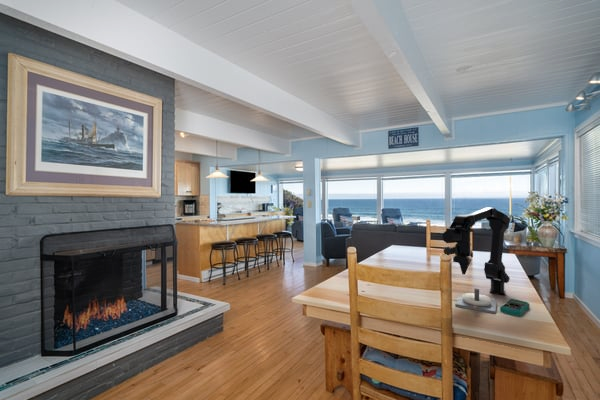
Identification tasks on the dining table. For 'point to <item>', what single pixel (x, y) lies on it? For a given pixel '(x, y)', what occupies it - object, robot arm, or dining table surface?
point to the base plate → (489, 308)
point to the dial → (476, 298)
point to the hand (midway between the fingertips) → (463, 274)
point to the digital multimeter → (514, 307)
